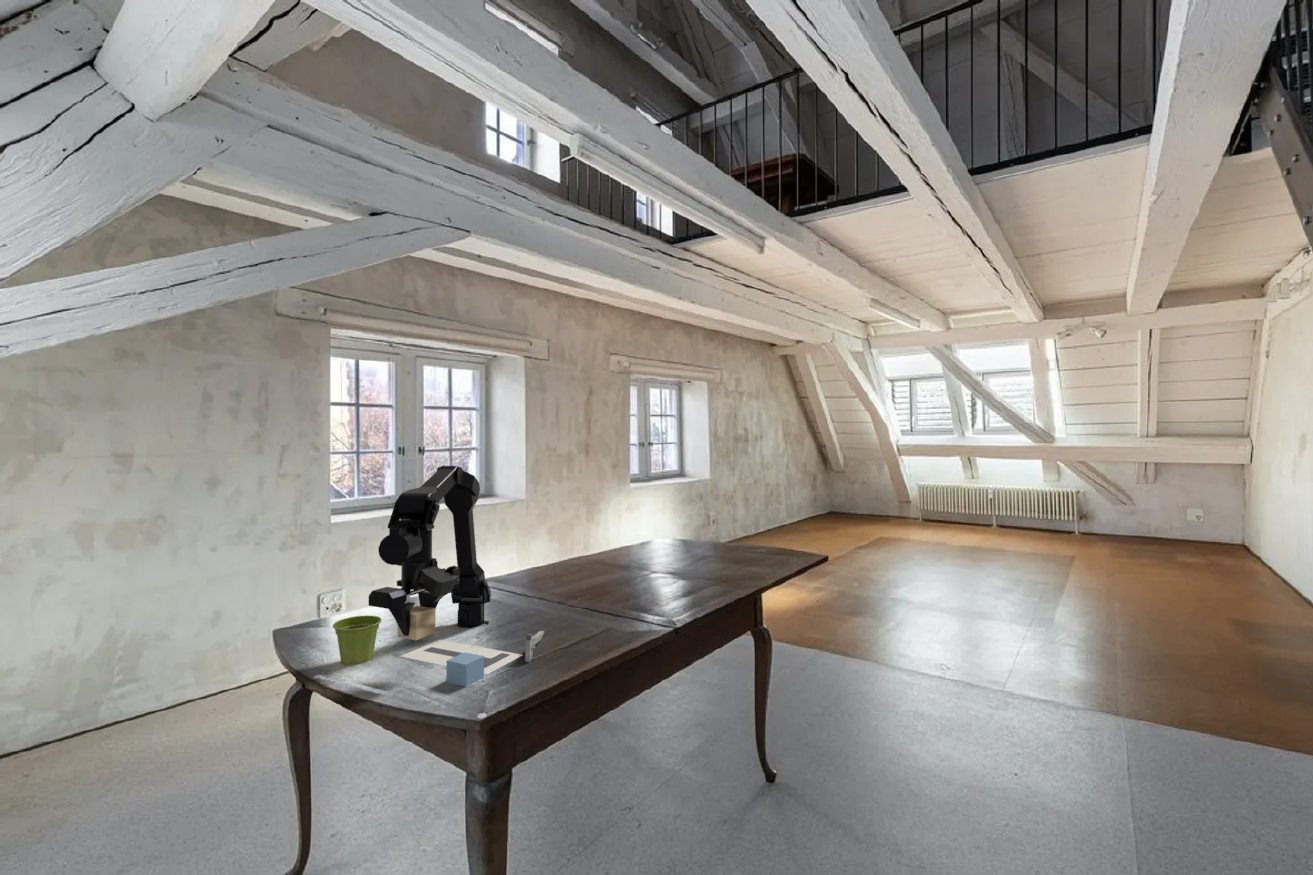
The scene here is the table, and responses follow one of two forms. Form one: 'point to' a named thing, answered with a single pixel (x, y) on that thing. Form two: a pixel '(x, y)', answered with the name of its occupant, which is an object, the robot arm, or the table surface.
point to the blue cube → (465, 669)
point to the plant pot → (357, 638)
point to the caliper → (532, 644)
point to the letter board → (447, 650)
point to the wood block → (420, 623)
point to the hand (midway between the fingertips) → (416, 631)
